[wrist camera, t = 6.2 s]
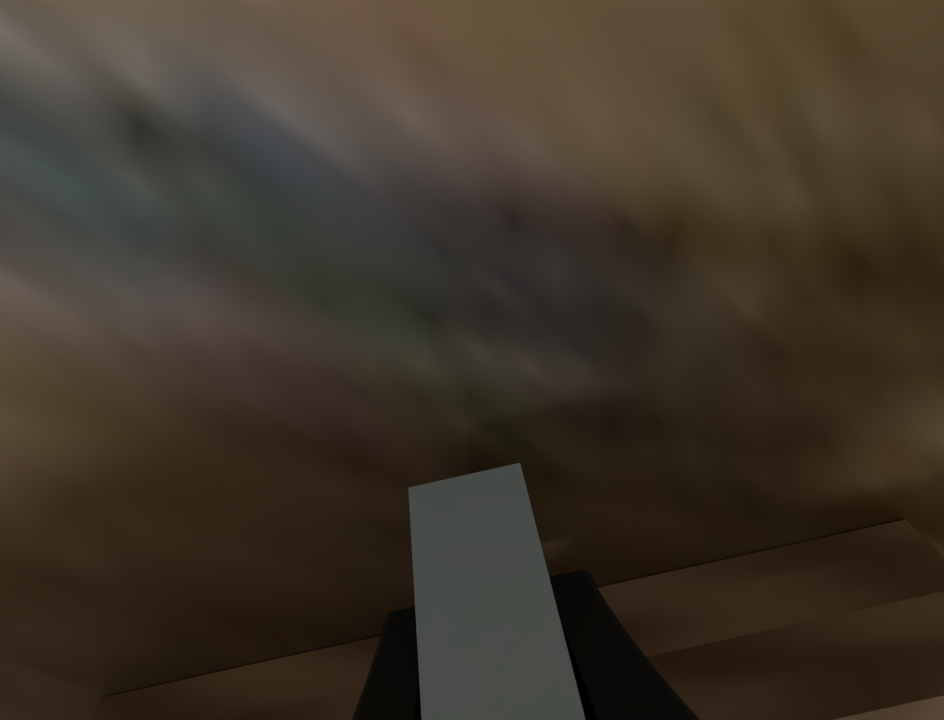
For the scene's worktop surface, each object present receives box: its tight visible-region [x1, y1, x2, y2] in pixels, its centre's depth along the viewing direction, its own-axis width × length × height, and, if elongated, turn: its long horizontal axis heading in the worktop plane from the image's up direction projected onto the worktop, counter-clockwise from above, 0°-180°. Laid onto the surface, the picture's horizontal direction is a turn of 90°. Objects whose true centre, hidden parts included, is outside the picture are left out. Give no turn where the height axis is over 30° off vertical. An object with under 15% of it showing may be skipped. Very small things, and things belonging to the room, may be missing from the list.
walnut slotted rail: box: [92, 519, 944, 720], centre depth 14 cm, size 18×2×4 cm, turn 102°
